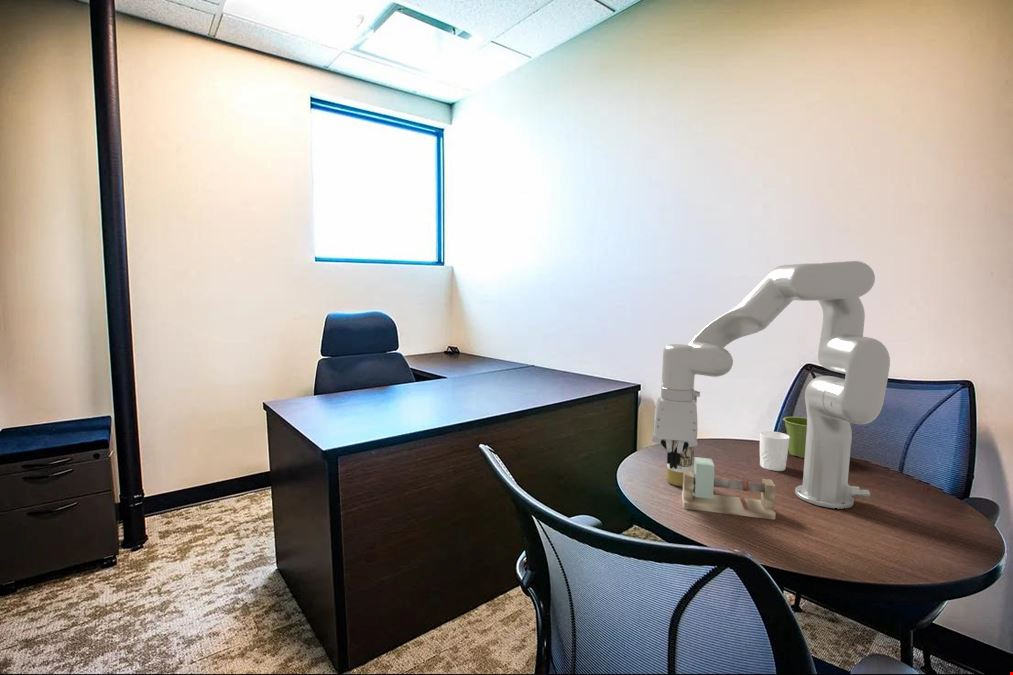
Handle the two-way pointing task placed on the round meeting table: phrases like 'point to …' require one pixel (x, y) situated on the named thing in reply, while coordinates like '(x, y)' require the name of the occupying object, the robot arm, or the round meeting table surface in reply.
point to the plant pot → (796, 435)
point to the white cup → (773, 450)
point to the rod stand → (732, 498)
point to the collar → (703, 477)
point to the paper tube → (681, 464)
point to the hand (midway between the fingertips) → (673, 466)
